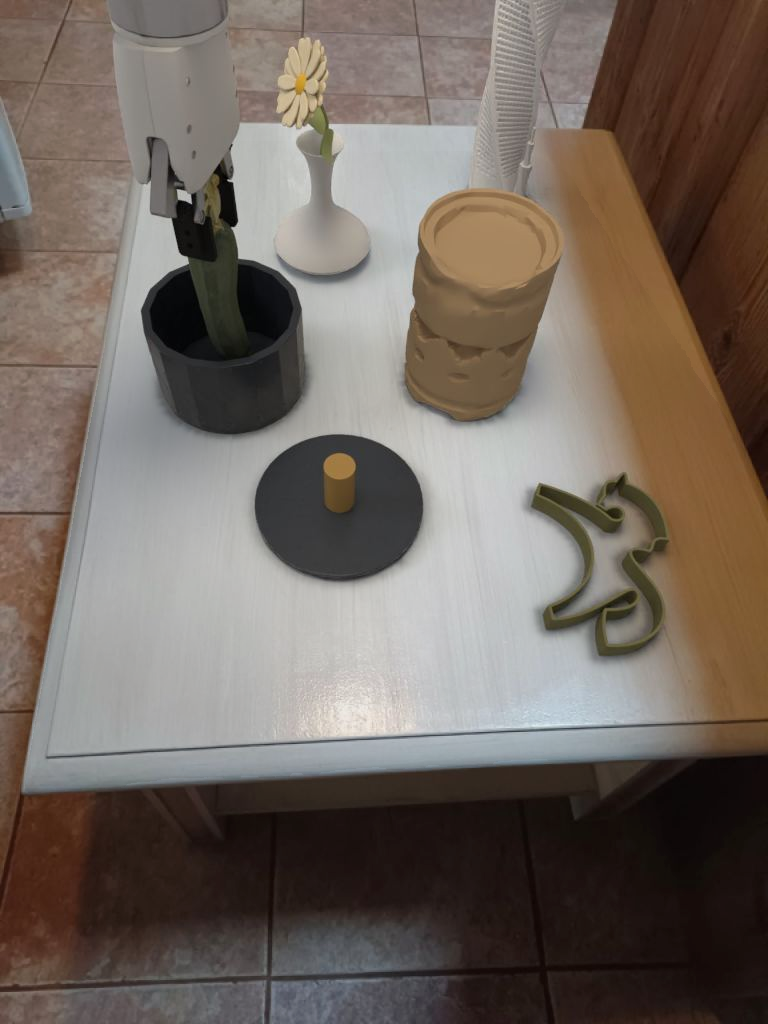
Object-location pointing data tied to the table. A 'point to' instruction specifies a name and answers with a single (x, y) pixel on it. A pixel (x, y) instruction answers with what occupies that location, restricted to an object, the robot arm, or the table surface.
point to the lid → (338, 506)
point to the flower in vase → (315, 174)
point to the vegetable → (220, 284)
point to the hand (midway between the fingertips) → (209, 237)
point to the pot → (213, 380)
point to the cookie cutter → (608, 521)
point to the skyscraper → (512, 93)
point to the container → (478, 299)
